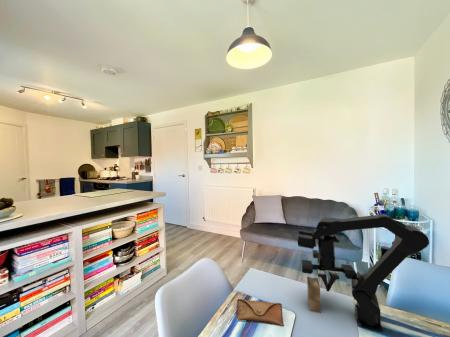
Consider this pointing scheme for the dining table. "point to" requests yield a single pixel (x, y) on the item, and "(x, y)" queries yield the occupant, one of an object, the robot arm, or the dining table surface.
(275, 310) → the sunglasses case
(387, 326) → the dining table surface
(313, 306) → the walnut block
